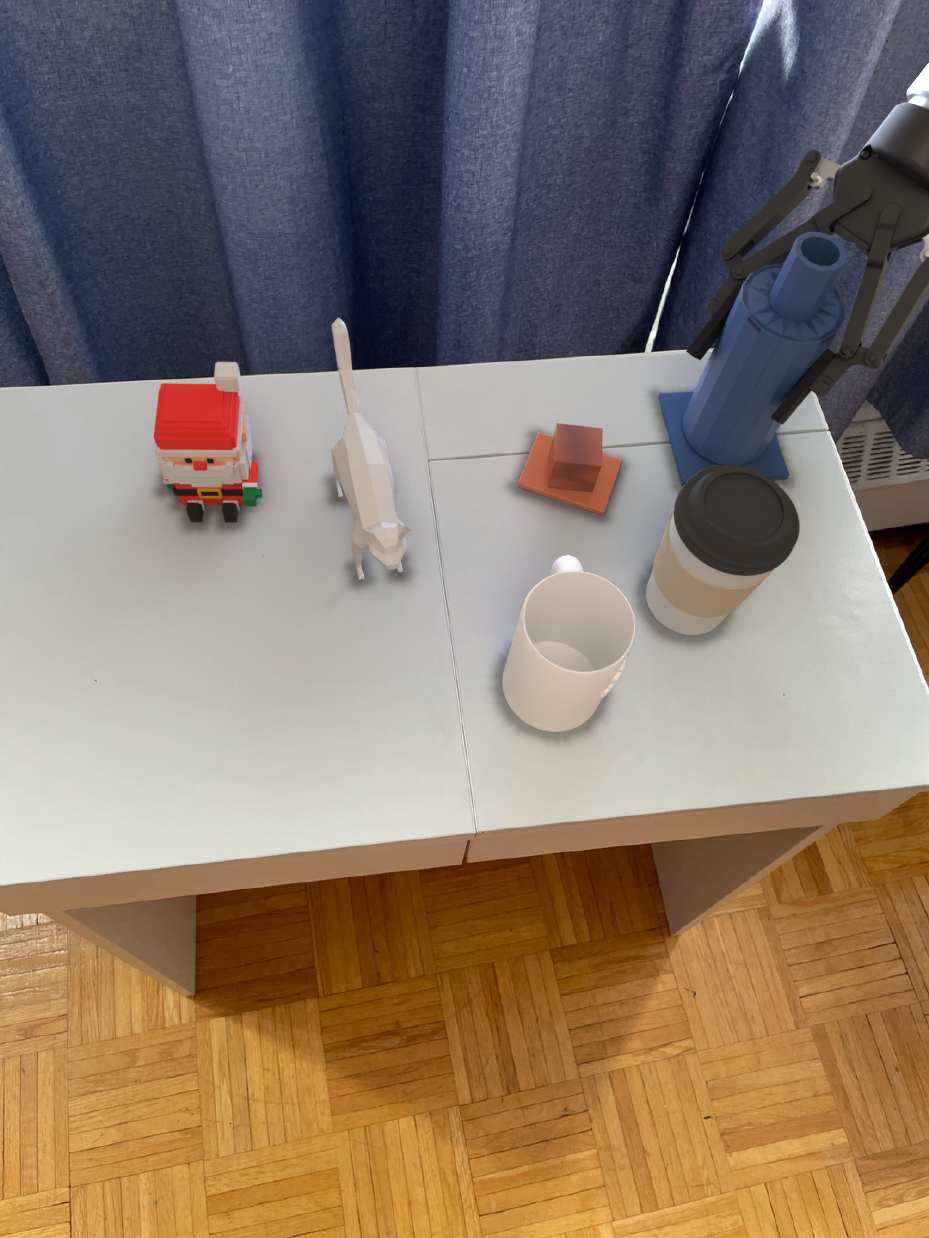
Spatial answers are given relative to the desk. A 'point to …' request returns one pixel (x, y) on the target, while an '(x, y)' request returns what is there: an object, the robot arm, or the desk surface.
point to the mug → (567, 647)
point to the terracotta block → (575, 457)
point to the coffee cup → (719, 546)
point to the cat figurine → (365, 474)
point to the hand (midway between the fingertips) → (734, 387)
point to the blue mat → (693, 462)
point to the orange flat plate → (594, 501)
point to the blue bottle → (766, 350)
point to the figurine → (207, 444)
